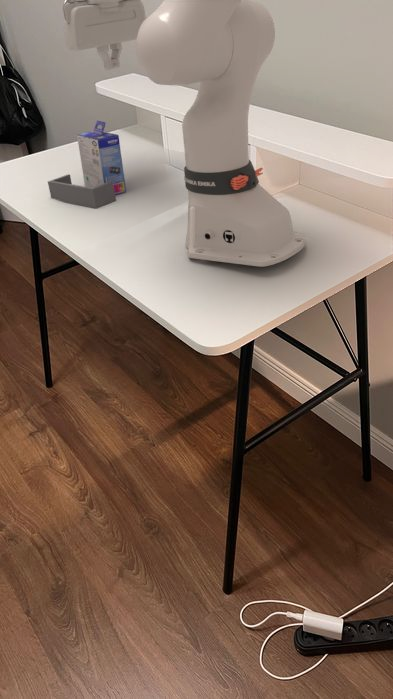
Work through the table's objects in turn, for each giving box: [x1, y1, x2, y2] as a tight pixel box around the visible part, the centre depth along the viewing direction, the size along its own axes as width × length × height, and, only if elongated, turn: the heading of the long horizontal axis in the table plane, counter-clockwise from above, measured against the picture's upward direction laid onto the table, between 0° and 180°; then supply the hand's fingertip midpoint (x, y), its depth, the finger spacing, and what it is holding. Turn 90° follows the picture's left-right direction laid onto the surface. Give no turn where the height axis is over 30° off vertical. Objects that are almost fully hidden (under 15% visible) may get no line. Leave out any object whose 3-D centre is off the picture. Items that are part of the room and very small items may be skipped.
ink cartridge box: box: [76, 120, 127, 196], centre depth 134 cm, size 10×6×14 cm, turn 37°
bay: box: [47, 173, 117, 209], centre depth 132 cm, size 14×6×4 cm, turn 50°
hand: (112, 68), depth 130 cm, fingers closed
